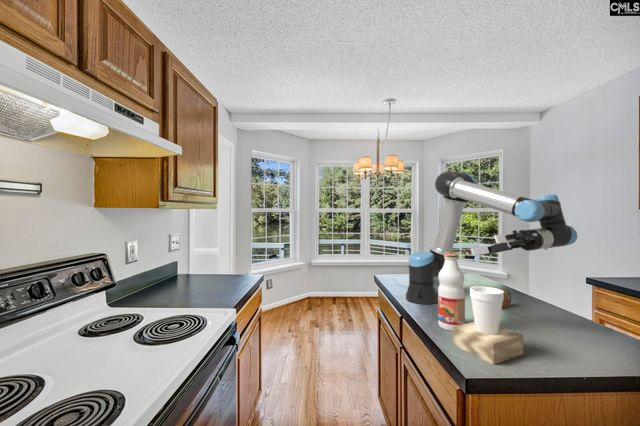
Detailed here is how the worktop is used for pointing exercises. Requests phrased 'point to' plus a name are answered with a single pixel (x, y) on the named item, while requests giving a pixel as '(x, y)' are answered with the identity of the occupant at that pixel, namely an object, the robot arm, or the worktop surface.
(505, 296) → the tin
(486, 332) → the foam cup
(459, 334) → the maple block
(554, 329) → the worktop surface
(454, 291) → the fruit juice
